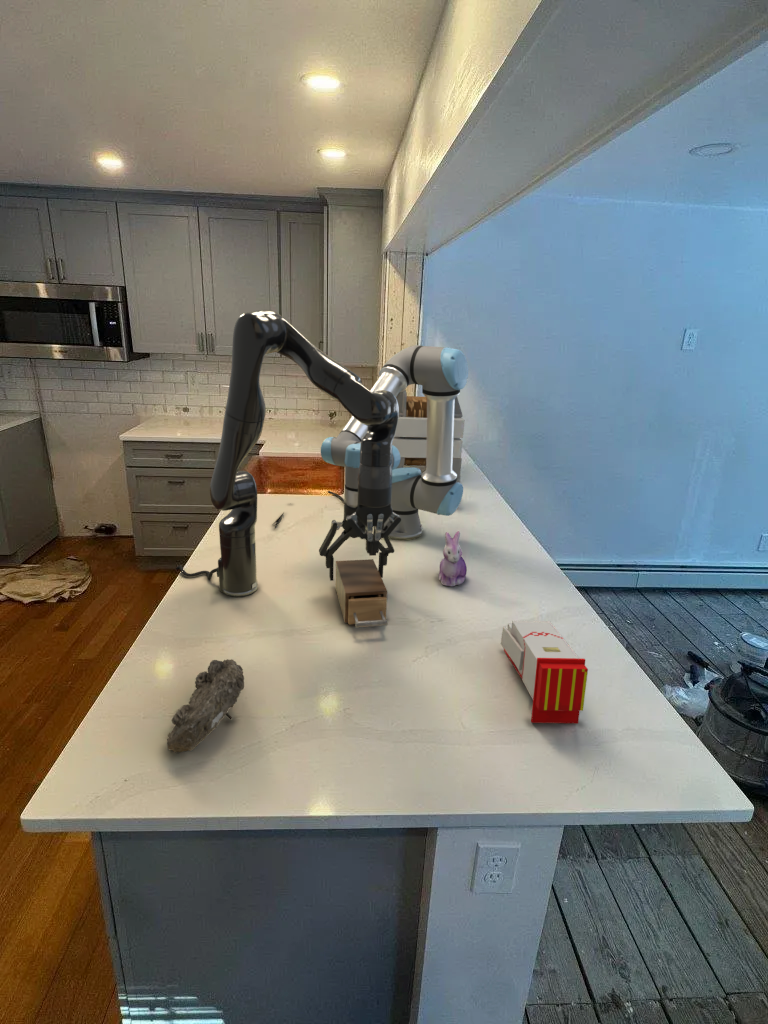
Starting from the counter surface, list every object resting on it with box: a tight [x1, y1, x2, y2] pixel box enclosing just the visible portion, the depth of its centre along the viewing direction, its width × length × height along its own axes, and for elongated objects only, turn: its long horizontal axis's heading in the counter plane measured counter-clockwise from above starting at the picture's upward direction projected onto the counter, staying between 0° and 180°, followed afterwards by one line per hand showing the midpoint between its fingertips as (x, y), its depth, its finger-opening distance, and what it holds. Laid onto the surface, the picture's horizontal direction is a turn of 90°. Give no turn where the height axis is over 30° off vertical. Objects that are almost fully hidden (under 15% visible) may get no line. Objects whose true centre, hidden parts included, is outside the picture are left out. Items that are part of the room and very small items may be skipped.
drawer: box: [347, 594, 388, 628], centre depth 145 cm, size 23×9×6 cm, turn 12°
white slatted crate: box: [392, 389, 465, 483], centre depth 268 cm, size 34×33×41 cm
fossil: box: [166, 658, 245, 754], centre depth 106 cm, size 22×10×15 cm
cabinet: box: [334, 558, 388, 624], centre depth 151 cm, size 19×11×8 cm, turn 12°
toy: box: [500, 620, 589, 724], centre depth 121 cm, size 12×13×30 cm
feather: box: [273, 503, 291, 529], centre depth 211 cm, size 2×28×2 cm
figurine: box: [438, 530, 468, 587], centre depth 165 cm, size 9×10×15 cm
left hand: (372, 554), depth 131 cm, fingers closed
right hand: (356, 577), depth 155 cm, fingers open, 13 cm apart
